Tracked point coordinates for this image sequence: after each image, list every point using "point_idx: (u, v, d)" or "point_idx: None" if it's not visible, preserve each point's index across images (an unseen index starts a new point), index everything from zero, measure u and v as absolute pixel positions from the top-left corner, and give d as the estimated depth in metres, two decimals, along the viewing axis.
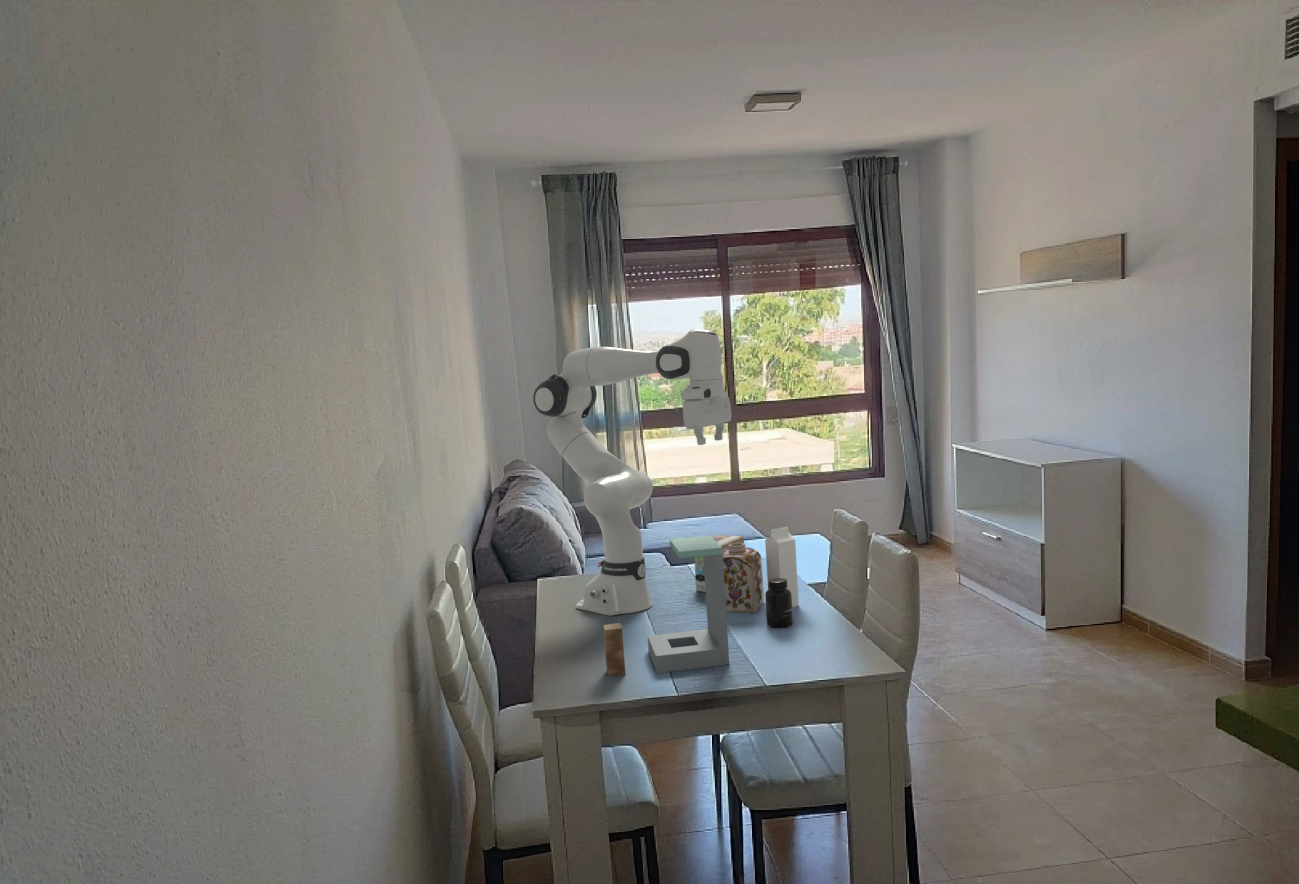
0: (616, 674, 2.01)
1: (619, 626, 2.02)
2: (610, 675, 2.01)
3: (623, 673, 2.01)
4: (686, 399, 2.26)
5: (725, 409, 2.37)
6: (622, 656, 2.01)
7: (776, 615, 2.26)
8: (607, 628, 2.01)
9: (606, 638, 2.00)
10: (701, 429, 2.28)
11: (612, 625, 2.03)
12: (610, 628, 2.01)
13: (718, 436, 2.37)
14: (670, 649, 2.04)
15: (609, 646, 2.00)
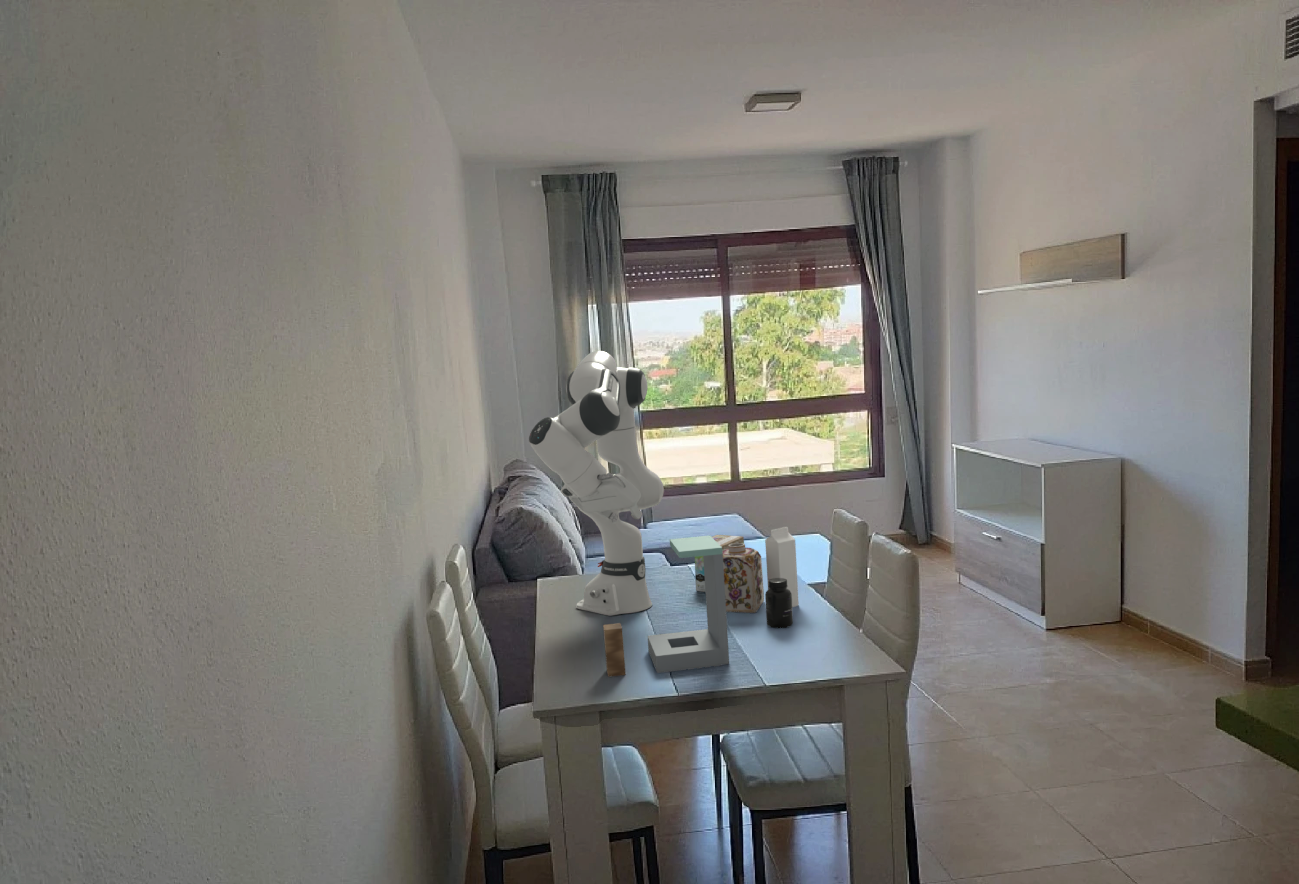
0: (616, 674, 2.01)
1: (619, 626, 2.02)
2: (610, 675, 2.01)
3: (623, 673, 2.01)
4: None
5: (615, 498, 1.92)
6: (622, 656, 2.01)
7: (776, 615, 2.26)
8: (607, 628, 2.01)
9: (606, 638, 2.00)
10: (598, 512, 2.04)
11: (612, 625, 2.03)
12: (610, 628, 2.01)
13: None
14: (670, 649, 2.04)
15: (609, 646, 2.00)
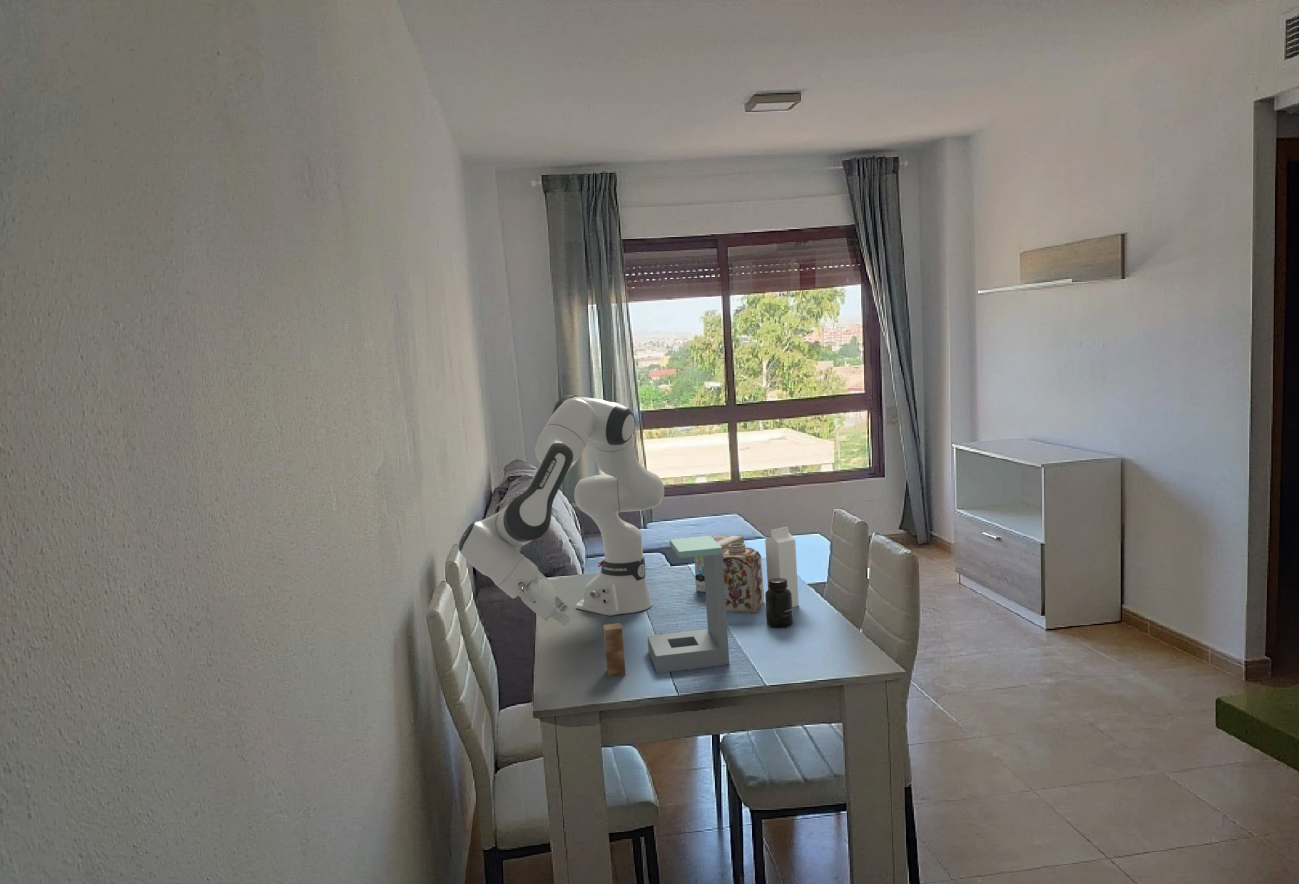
0: (616, 674, 2.01)
1: (619, 626, 2.02)
2: (610, 675, 2.01)
3: (623, 673, 2.01)
4: None
5: None
6: (622, 656, 2.01)
7: (776, 615, 2.26)
8: (607, 628, 2.01)
9: (606, 638, 2.00)
10: None
11: (612, 625, 2.03)
12: (610, 628, 2.01)
13: None
14: (670, 649, 2.04)
15: (609, 646, 2.00)
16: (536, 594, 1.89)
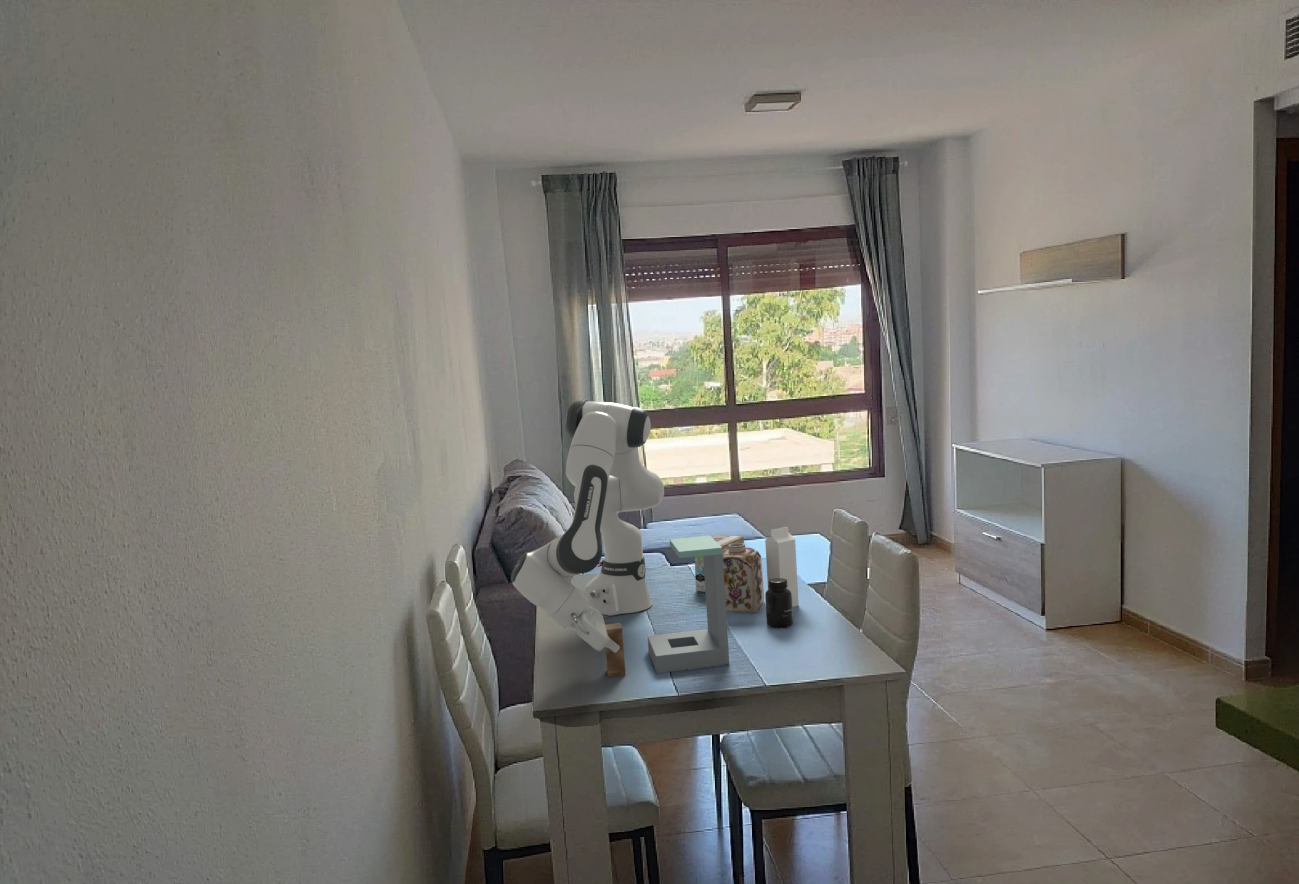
0: (616, 674, 2.01)
1: (619, 626, 2.02)
2: (610, 675, 2.01)
3: (623, 673, 2.01)
4: None
5: None
6: (622, 656, 2.01)
7: (776, 615, 2.26)
8: (607, 628, 2.01)
9: None
10: None
11: (612, 625, 2.03)
12: (610, 628, 2.01)
13: None
14: (670, 649, 2.04)
15: None
16: (589, 625, 1.92)
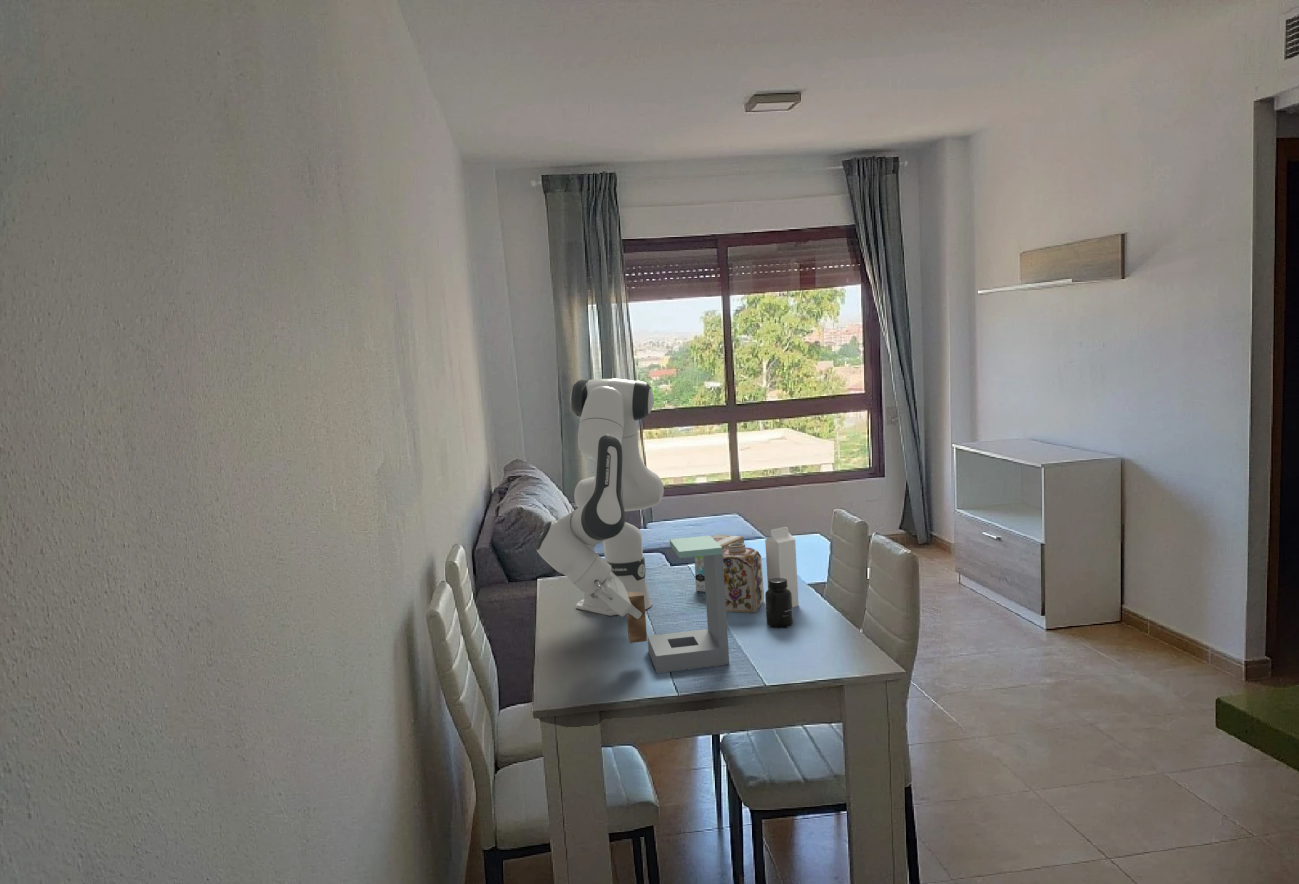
0: (638, 640, 2.06)
1: (641, 593, 2.06)
2: (632, 641, 2.05)
3: (645, 639, 2.06)
4: None
5: None
6: (644, 623, 2.05)
7: (776, 615, 2.26)
8: (629, 595, 2.05)
9: None
10: None
11: (634, 593, 2.07)
12: (632, 595, 2.05)
13: None
14: (670, 649, 2.04)
15: None
16: (613, 591, 1.96)
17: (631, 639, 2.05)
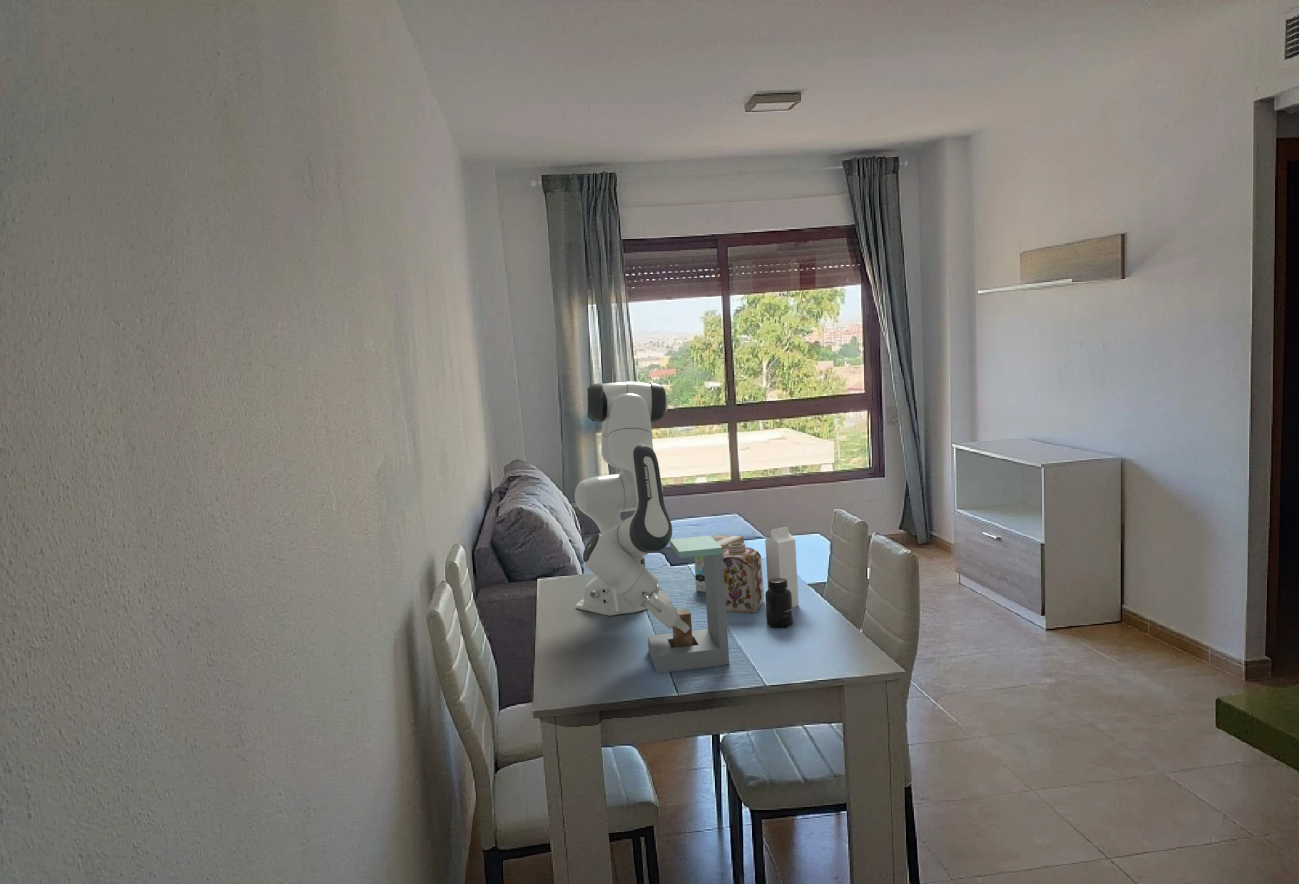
0: None
1: (687, 612, 2.08)
2: None
3: None
4: None
5: None
6: (690, 641, 2.07)
7: (776, 615, 2.26)
8: None
9: None
10: None
11: (680, 611, 2.09)
12: (679, 613, 2.07)
13: None
14: (670, 649, 2.04)
15: (678, 630, 2.07)
16: (661, 603, 1.98)
17: None
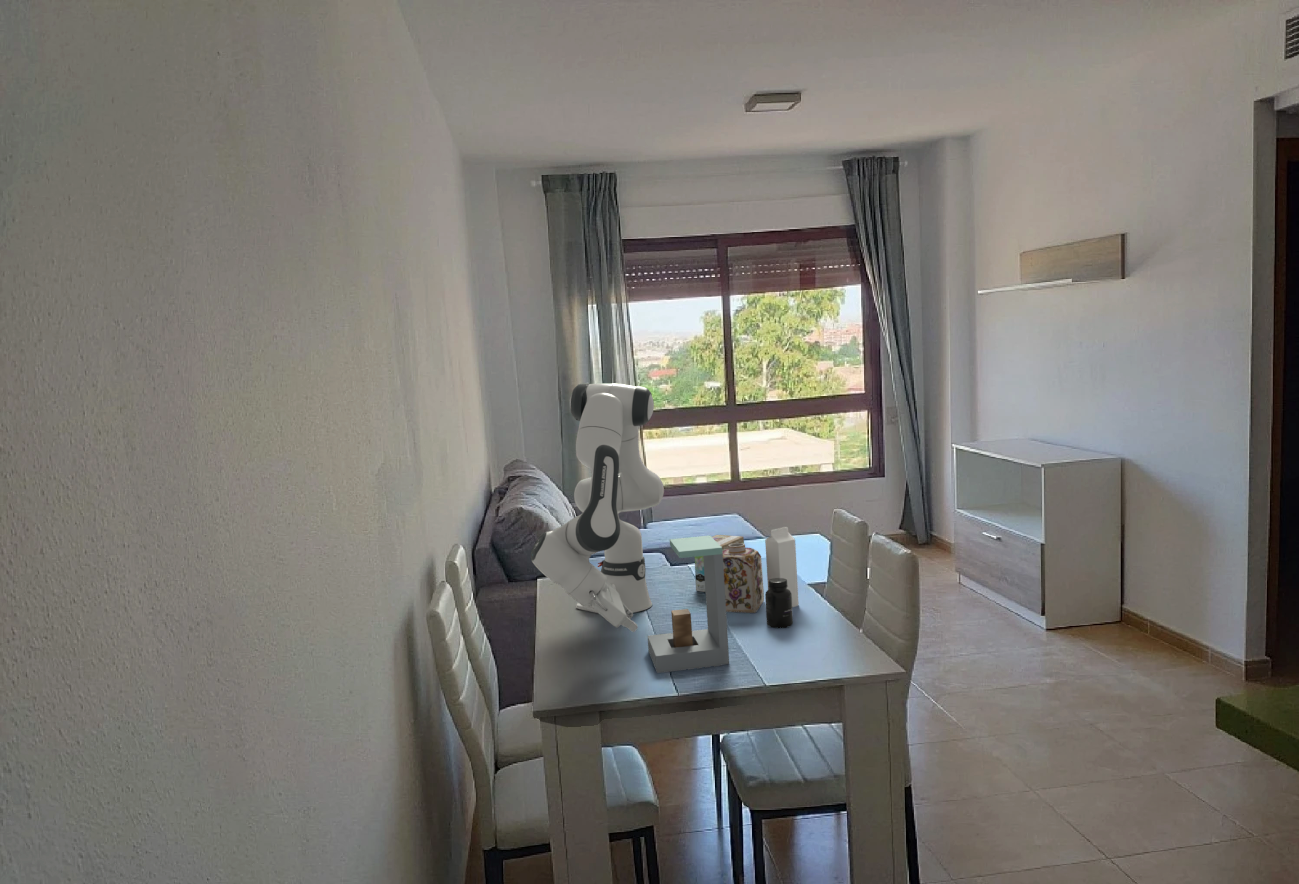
0: None
1: (687, 612, 2.08)
2: None
3: None
4: None
5: None
6: (690, 641, 2.07)
7: (776, 615, 2.26)
8: (676, 613, 2.07)
9: (675, 623, 2.06)
10: None
11: (680, 611, 2.09)
12: (679, 613, 2.07)
13: None
14: (670, 649, 2.04)
15: (678, 630, 2.07)
16: (608, 602, 1.96)
17: None
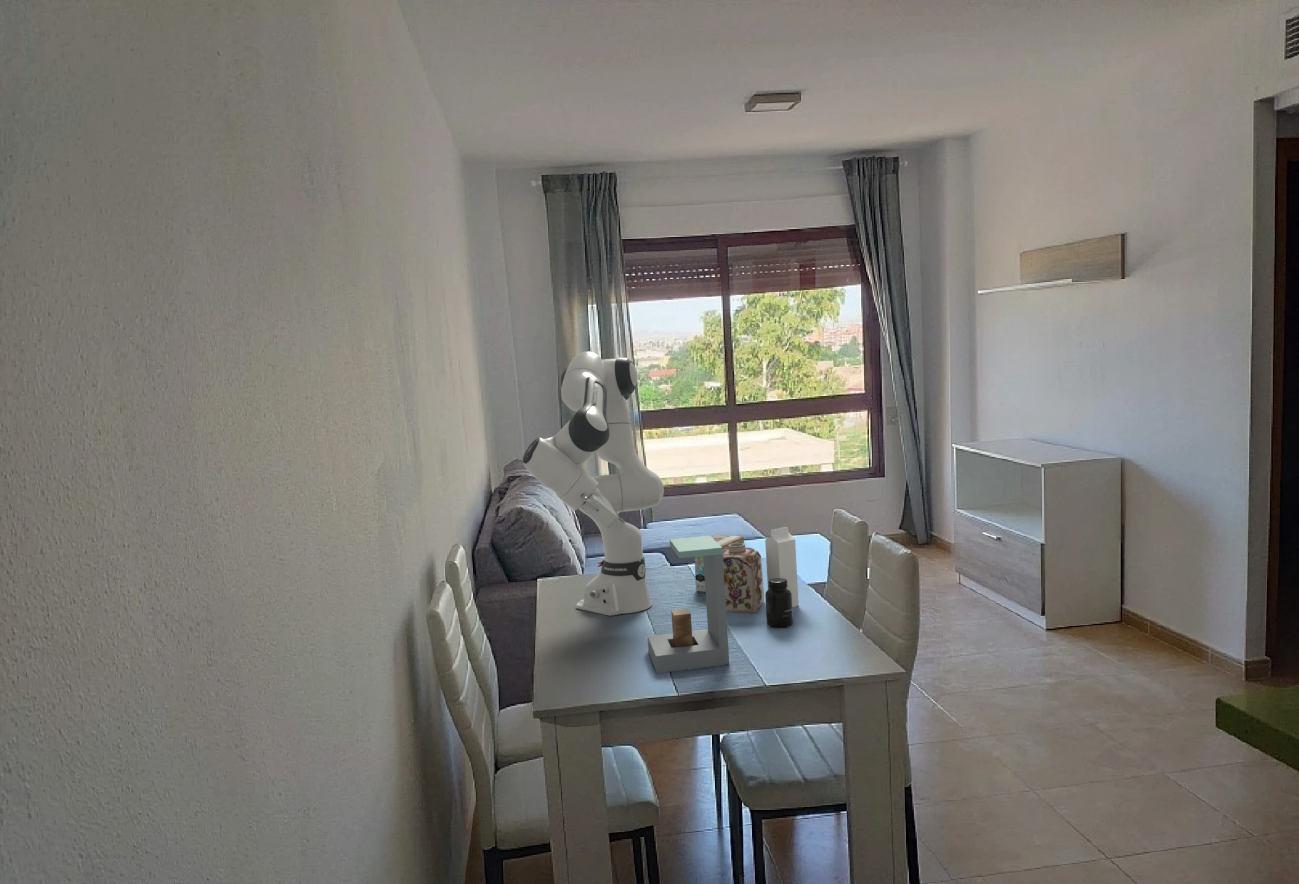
0: None
1: (687, 612, 2.08)
2: None
3: None
4: None
5: None
6: (690, 641, 2.07)
7: (776, 615, 2.26)
8: (676, 613, 2.07)
9: (675, 623, 2.06)
10: None
11: (680, 611, 2.09)
12: (679, 613, 2.07)
13: None
14: (670, 649, 2.04)
15: (678, 630, 2.07)
16: (599, 503, 2.00)
17: None
